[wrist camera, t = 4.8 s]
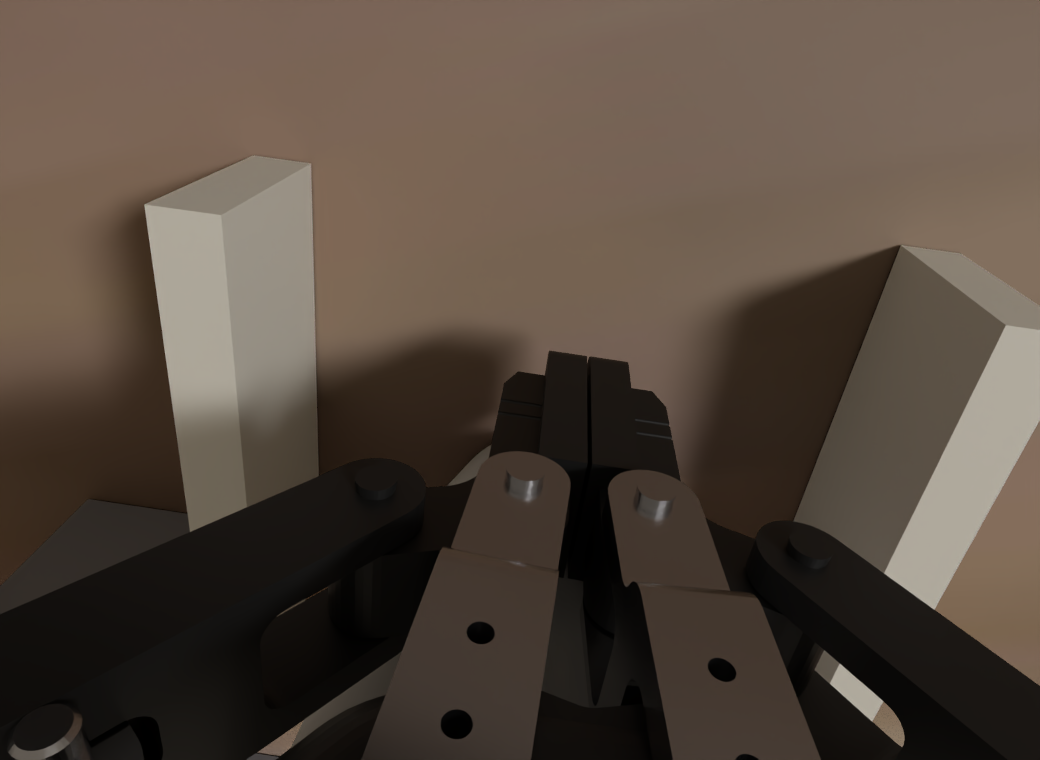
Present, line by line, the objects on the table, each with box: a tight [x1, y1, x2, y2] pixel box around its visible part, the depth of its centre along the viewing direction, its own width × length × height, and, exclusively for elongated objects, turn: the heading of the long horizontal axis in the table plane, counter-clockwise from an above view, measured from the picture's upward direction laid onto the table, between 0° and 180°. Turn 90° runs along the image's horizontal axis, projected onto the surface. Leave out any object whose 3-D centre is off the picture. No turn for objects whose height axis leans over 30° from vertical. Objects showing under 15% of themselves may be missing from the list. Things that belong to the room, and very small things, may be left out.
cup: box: [291, 445, 589, 748], centre depth 14 cm, size 8×8×10 cm
